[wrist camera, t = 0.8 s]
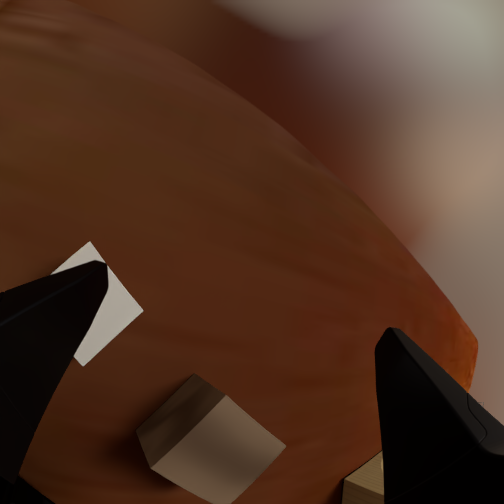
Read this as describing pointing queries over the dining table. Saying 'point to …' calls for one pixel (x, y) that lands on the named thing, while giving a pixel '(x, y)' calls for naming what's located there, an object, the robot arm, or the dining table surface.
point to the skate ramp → (365, 483)
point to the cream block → (103, 308)
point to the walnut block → (207, 443)
